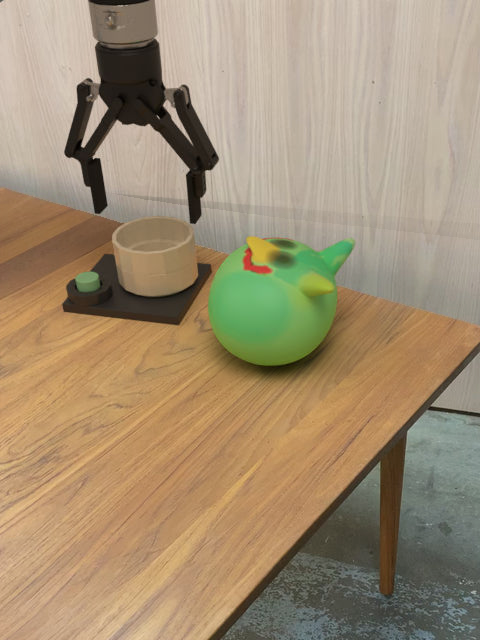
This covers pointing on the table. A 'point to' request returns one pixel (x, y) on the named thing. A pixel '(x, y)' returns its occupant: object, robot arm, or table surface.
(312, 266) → the toy bird
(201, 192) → the robot arm
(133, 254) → the bowl
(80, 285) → the button
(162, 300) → the scale
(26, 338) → the table surface
